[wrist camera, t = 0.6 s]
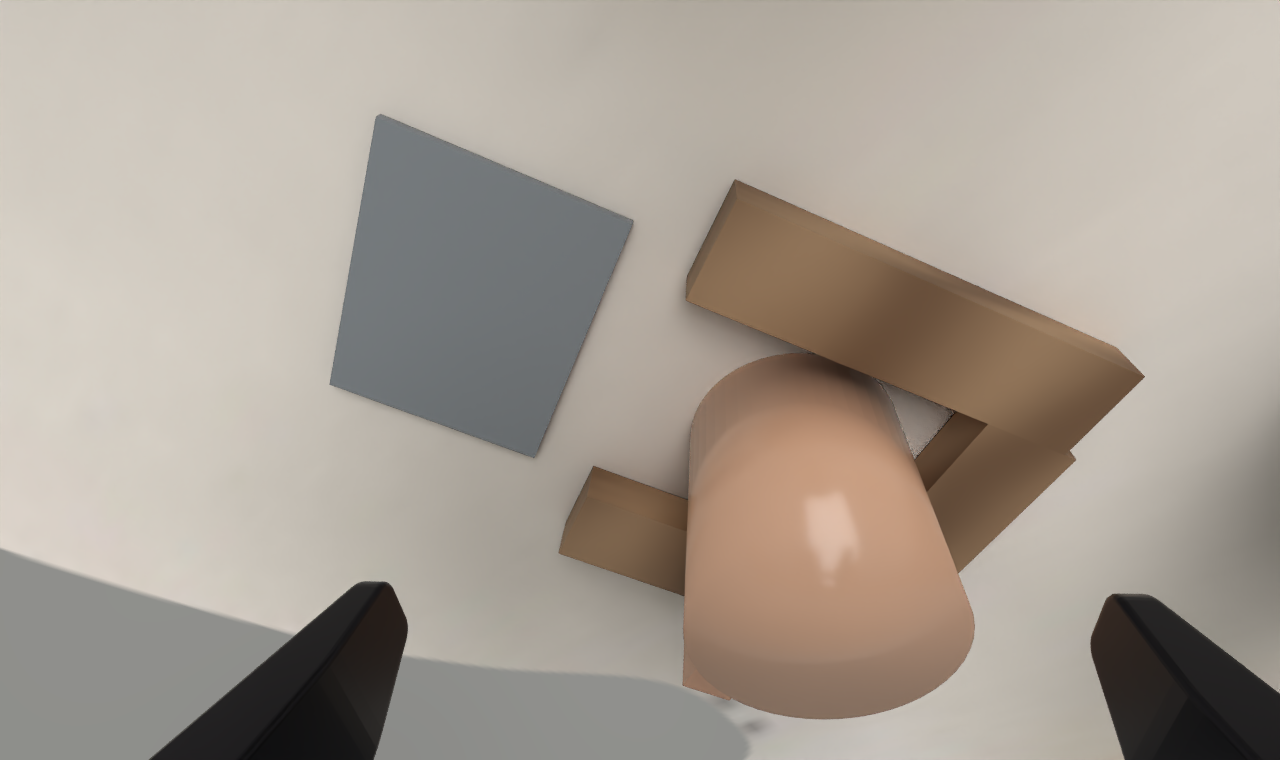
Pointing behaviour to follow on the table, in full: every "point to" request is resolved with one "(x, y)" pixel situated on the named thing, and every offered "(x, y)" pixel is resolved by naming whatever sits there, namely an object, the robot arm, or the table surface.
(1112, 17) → the table surface
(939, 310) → the brown u-shaped piece
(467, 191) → the mat
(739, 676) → the peach rounded canister
